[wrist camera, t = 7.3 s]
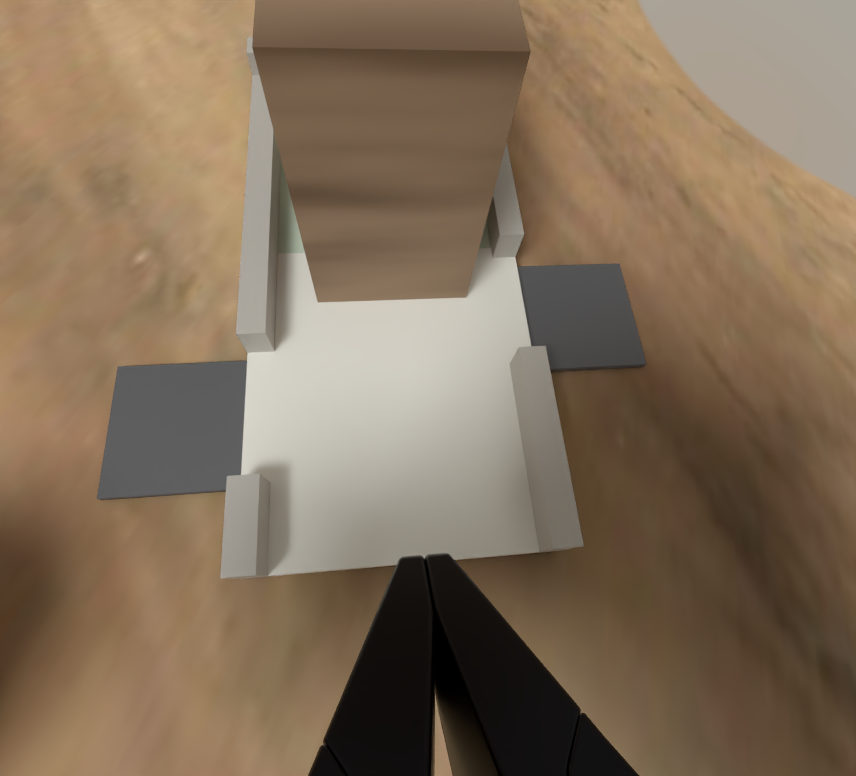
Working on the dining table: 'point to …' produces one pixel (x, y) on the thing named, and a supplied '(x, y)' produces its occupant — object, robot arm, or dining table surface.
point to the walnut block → (390, 134)
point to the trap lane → (374, 401)
